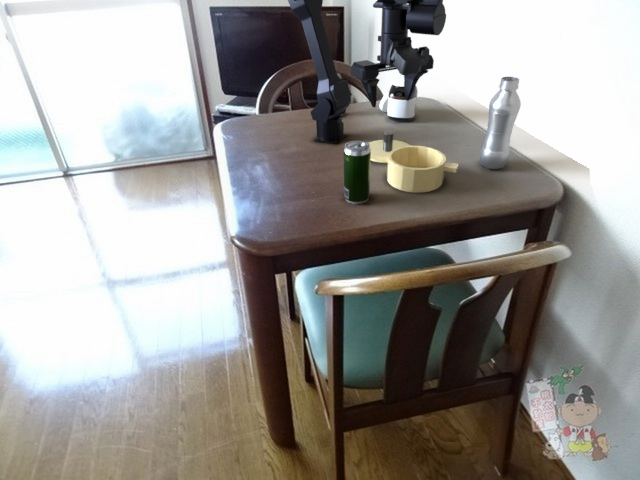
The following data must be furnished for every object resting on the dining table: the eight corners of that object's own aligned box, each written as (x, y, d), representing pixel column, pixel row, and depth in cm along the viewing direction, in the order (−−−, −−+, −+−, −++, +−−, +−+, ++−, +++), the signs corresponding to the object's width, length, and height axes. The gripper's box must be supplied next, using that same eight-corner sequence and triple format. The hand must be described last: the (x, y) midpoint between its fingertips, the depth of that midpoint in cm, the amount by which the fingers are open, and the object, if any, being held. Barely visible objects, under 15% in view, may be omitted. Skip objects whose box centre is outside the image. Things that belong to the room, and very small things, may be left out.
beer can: (354, 207, 89) (354, 153, 82) (339, 197, 93) (338, 144, 86) (374, 199, 91) (376, 146, 85) (358, 190, 95) (359, 138, 88)
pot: (448, 199, 91) (452, 175, 87) (368, 184, 97) (368, 162, 94) (459, 174, 100) (463, 151, 96) (385, 162, 106) (386, 141, 103)
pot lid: (405, 169, 103) (407, 146, 99) (353, 160, 108) (353, 139, 104) (420, 147, 112) (422, 126, 109) (371, 140, 117) (372, 120, 114)
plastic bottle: (506, 161, 104) (526, 75, 92) (506, 174, 99) (527, 84, 87) (478, 158, 106) (494, 73, 94) (476, 170, 101) (493, 82, 89)
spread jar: (409, 125, 125) (412, 84, 119) (372, 120, 130) (373, 80, 123) (419, 112, 134) (423, 73, 127) (384, 108, 138) (386, 70, 132)
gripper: (376, 43, 85) (373, 121, 94) (453, 32, 91) (444, 106, 100) (349, 34, 93) (349, 106, 102) (421, 24, 99) (416, 93, 108)
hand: (390, 103), depth 103 cm, fingers open, 9 cm apart
